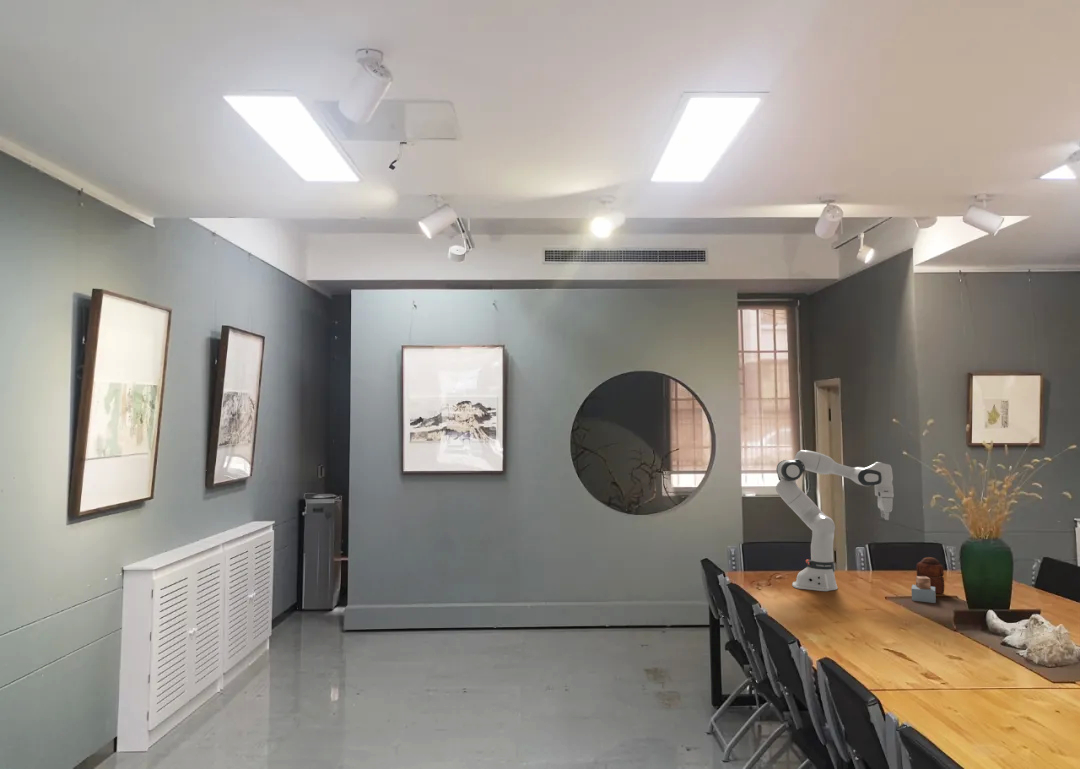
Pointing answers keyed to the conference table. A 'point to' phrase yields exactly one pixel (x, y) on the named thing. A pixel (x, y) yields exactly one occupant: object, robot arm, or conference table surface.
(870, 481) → the robot arm
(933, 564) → the wooden figurine
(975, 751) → the conference table surface
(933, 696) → the conference table surface
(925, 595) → the slate base block
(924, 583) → the terracotta cube
